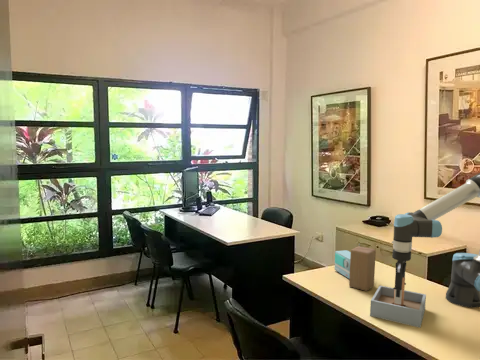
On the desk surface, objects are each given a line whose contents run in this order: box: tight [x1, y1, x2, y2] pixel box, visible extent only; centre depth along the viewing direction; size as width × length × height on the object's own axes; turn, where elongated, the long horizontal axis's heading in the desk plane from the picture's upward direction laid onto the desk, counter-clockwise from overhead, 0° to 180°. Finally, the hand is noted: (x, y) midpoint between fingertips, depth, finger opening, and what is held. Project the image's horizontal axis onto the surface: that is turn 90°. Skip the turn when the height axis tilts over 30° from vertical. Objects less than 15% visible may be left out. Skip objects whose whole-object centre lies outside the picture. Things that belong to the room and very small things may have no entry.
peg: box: [394, 277, 406, 306], centre depth 170 cm, size 4×4×16 cm
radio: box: [334, 243, 361, 280], centre depth 216 cm, size 16×9×20 cm, turn 17°
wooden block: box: [348, 245, 377, 292], centre depth 199 cm, size 10×10×20 cm
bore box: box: [369, 285, 427, 328], centre depth 171 cm, size 20×20×7 cm
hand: (398, 301), depth 171 cm, fingers open, 5 cm apart
